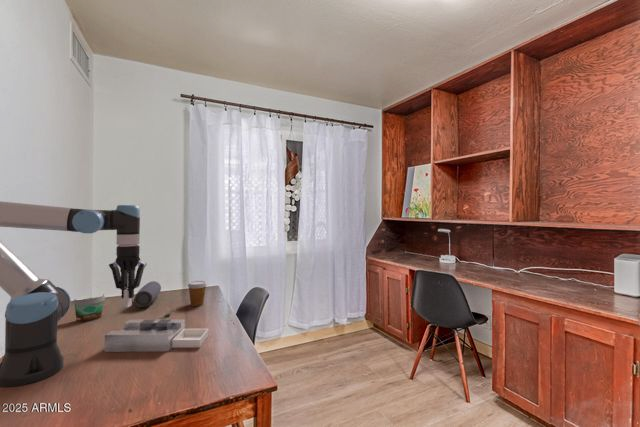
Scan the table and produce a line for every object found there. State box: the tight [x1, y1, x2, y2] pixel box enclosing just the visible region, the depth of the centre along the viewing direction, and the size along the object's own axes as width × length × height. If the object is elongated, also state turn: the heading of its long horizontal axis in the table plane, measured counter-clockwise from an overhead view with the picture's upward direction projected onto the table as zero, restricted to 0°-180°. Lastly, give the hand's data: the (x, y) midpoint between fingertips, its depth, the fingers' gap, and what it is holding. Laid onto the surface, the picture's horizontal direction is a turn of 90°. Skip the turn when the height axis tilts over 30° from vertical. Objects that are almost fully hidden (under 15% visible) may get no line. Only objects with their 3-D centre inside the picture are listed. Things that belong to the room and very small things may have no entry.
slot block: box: [104, 318, 186, 353], centre depth 117 cm, size 16×22×6 cm
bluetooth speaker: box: [134, 280, 162, 308], centre depth 167 cm, size 23×9×10 cm, turn 17°
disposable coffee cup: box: [187, 280, 208, 307], centre depth 166 cm, size 10×10×12 cm
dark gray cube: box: [140, 320, 156, 331], centre depth 117 cm, size 4×4×4 cm
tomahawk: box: [158, 312, 171, 319], centre depth 137 cm, size 21×7×1 cm, turn 165°
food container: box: [72, 294, 106, 323], centre depth 140 cm, size 12×6×10 cm, turn 143°
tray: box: [171, 328, 210, 349], centre depth 119 cm, size 11×10×3 cm
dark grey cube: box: [156, 320, 171, 331], centre depth 118 cm, size 4×4×4 cm
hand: (127, 306), depth 117 cm, fingers closed
